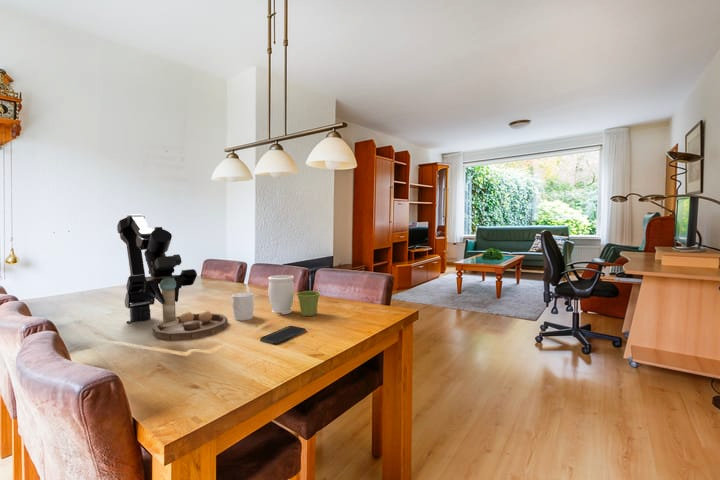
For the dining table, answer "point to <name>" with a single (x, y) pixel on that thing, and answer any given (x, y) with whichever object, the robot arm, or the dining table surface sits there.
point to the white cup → (243, 305)
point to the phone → (282, 335)
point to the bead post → (168, 302)
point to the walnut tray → (191, 328)
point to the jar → (281, 293)
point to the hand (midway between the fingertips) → (170, 302)
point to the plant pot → (308, 302)
